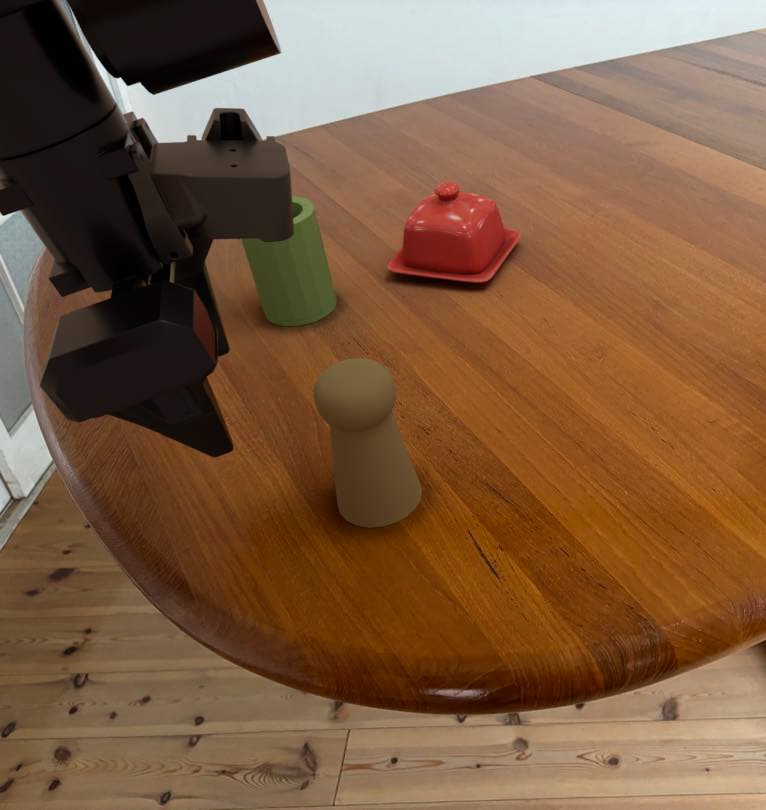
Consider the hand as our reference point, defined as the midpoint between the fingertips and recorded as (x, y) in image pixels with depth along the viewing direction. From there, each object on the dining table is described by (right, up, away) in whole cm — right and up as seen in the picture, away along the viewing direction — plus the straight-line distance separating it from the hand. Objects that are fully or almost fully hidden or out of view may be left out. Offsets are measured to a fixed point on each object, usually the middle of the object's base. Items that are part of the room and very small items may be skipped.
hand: (222, 399), depth 45 cm
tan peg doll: (+6, -7, +14) cm, 17 cm away
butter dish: (+9, +15, +41) cm, 45 cm away
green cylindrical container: (-6, +9, +36) cm, 37 cm away
